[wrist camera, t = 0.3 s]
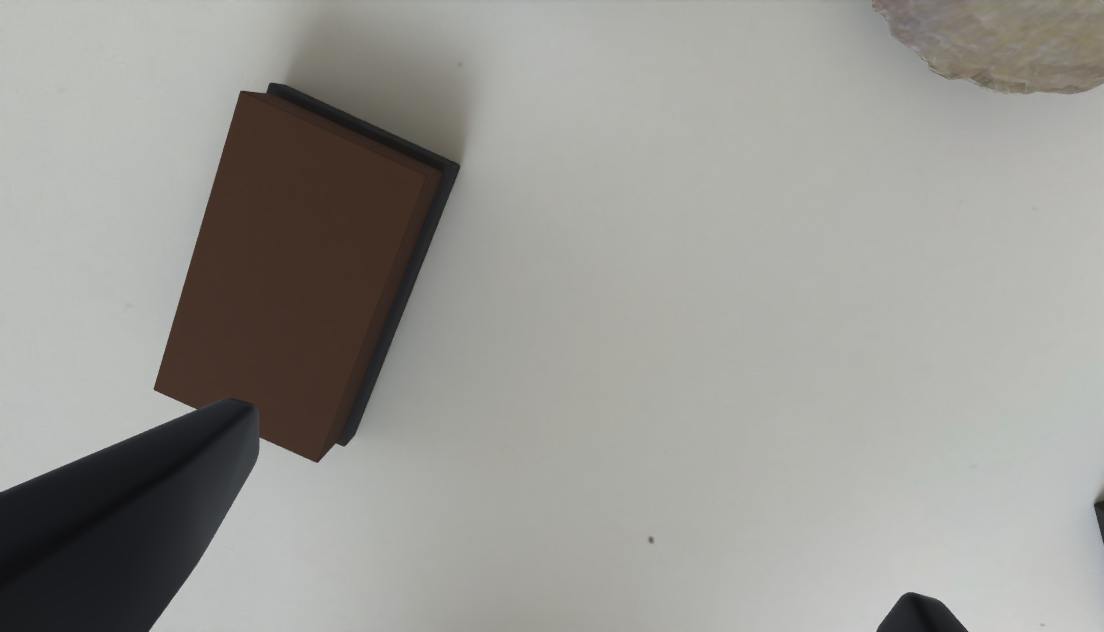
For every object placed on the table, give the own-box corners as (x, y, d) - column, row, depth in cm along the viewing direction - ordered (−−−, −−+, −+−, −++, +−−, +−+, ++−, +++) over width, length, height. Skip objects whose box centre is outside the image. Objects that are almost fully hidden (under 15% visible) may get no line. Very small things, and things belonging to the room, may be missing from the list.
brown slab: (354, 436, 26) (321, 474, 23) (196, 365, 26) (143, 394, 23) (461, 165, 23) (438, 169, 20) (283, 84, 23) (234, 76, 20)
